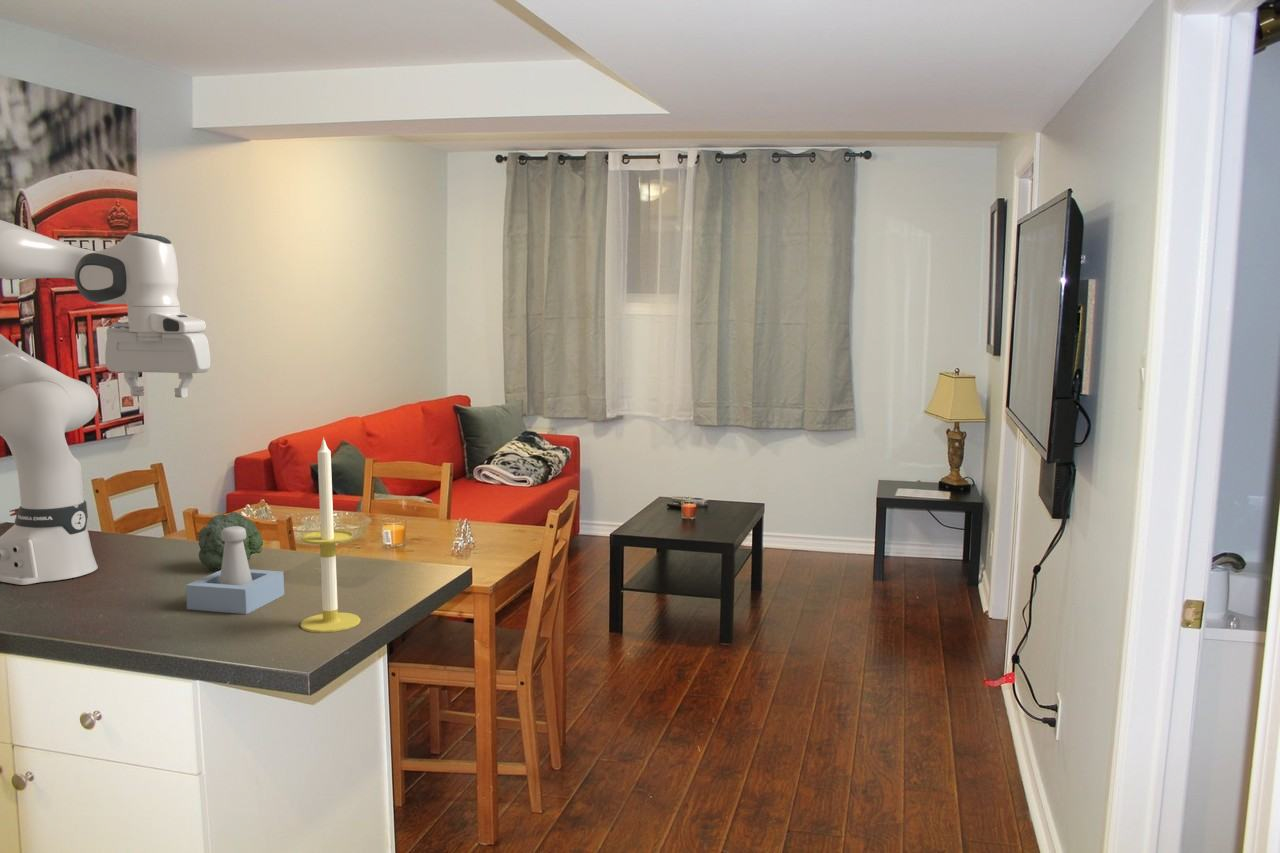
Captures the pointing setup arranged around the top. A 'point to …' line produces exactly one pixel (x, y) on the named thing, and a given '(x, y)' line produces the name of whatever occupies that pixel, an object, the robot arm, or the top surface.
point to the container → (235, 592)
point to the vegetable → (215, 546)
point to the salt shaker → (234, 557)
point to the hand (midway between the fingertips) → (159, 396)
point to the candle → (327, 555)
